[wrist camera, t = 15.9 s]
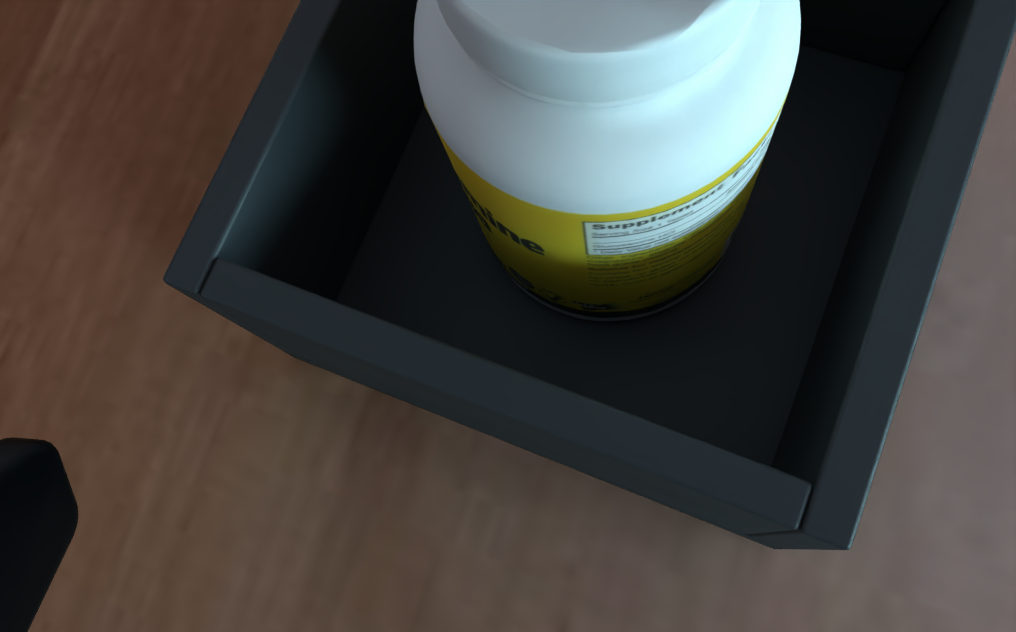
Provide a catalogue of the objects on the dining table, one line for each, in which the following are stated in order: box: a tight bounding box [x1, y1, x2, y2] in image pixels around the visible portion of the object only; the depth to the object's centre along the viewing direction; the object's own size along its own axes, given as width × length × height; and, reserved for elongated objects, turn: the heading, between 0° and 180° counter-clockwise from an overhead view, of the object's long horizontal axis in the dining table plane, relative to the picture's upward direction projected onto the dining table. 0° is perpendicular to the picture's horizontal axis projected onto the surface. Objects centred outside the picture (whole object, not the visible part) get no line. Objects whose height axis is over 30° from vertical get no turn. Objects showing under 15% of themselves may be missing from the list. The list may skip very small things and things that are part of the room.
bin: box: [163, 0, 1016, 550], centre depth 19 cm, size 13×13×7 cm
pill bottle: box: [414, 0, 801, 321], centre depth 16 cm, size 6×6×11 cm
